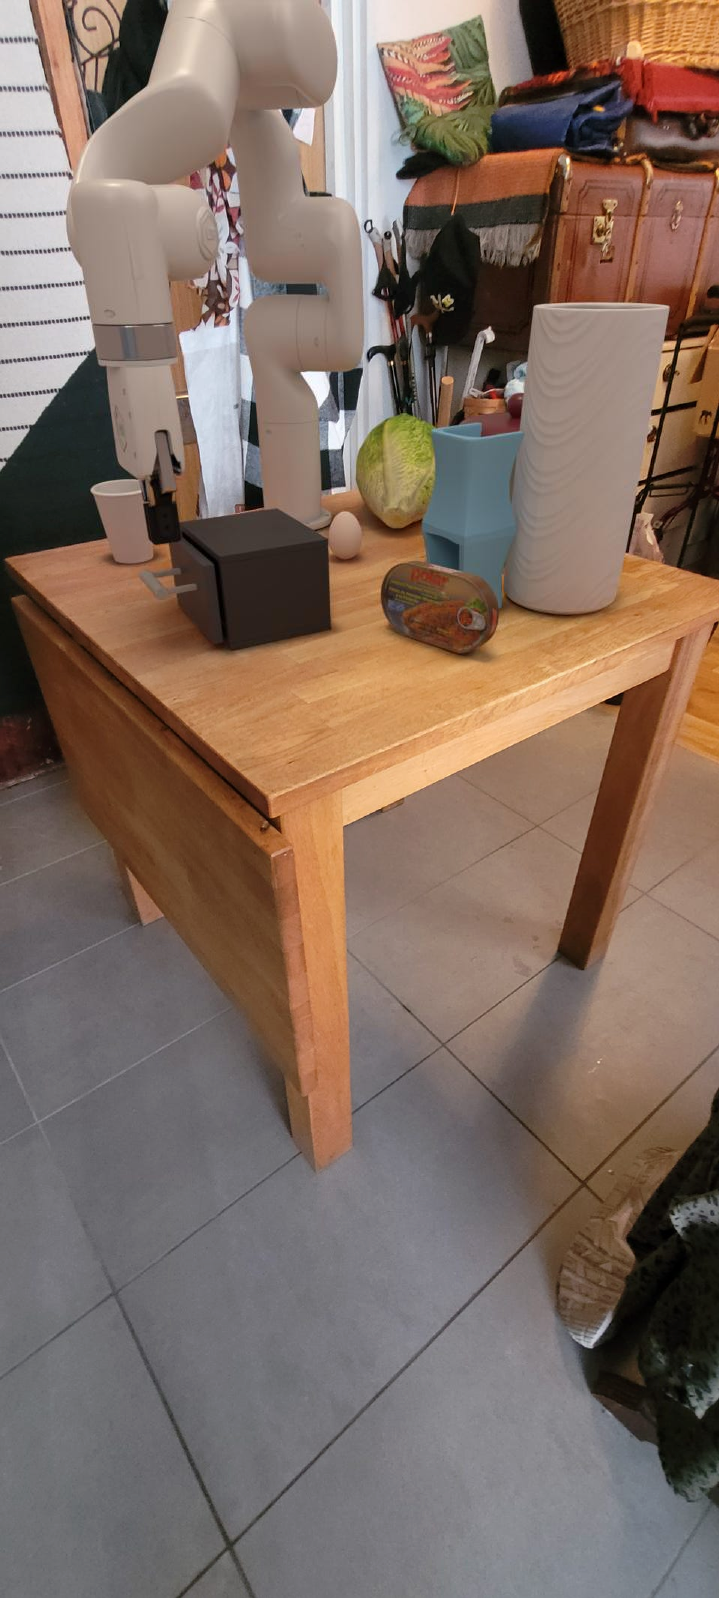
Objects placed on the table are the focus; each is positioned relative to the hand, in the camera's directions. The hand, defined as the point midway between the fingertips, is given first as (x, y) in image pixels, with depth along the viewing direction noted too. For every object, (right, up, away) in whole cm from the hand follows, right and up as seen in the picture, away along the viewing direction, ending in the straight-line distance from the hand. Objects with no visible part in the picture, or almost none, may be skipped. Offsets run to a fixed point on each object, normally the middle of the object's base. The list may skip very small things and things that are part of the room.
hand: (165, 540), depth 83 cm
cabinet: (+9, -6, +10) cm, 15 cm away
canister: (+43, +8, +30) cm, 53 cm away
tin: (+30, -10, +5) cm, 32 cm away
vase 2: (+47, -2, +15) cm, 49 cm away
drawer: (+5, -7, +8) cm, 11 cm away
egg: (+19, +7, +29) cm, 35 cm away
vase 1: (+34, -4, +14) cm, 37 cm away
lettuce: (+28, +19, +46) cm, 57 cm away
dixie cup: (-12, +7, +30) cm, 33 cm away
